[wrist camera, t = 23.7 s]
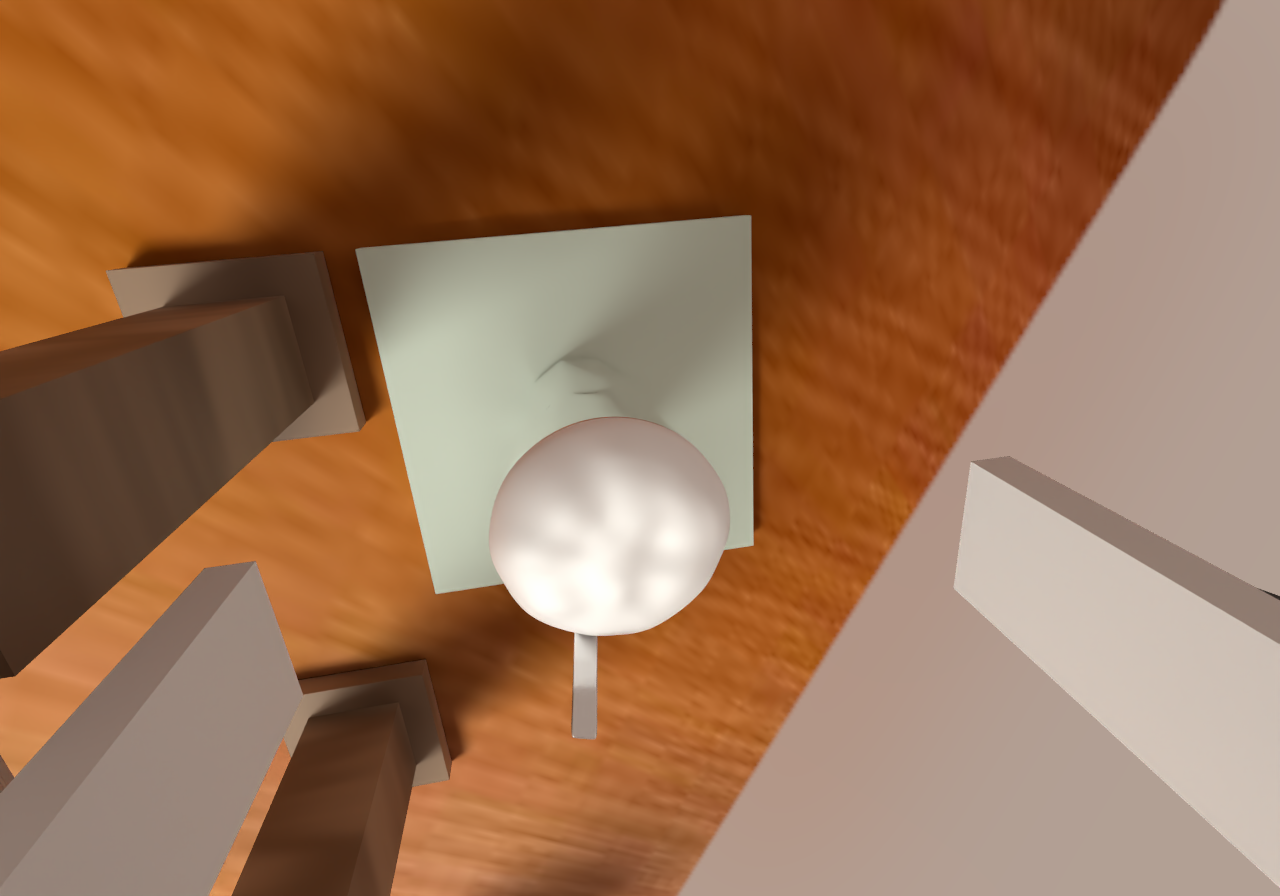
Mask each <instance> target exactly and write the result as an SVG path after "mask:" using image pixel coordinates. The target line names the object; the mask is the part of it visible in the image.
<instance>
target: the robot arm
mask: <svg viewBox="0 0 1280 896" xmlns="http://www.w3.org/2000/svg"><path fill="white" fill-rule="evenodd" d="M954 589H955V590H956V591H957V592H959V594H961V595H962V596H963V597H964V598H965V599H966V600H967V601H968V602H969V603H970V604H971V605H973V606H974V607H975V608H976V609H977V610H978V611H979V612H980V613H981V614H982V615H984V617H986V618H987V619H988V620H989V621H990V622H991V623H992V624H993V625H994V626H995V627H997V628H998V629H999V630H1000V631H1001V632H1002V633H1003V634H1004V635H1005V636H1007V638H1008V639H1010V640H1011V641H1012V642H1013V643H1014V644H1015V645H1016V646H1017V647H1018V648H1020V650H1022V651H1023V652H1024V653H1025V654H1026V655H1027V656H1028V657H1029V658H1030V659H1031V660H1032V661H1033V662H1035V663H1036V664H1037V665H1038V666H1039V667H1040V668H1041V669H1042V670H1043V671H1044V672H1045V673H1047V674H1048V675H1049V676H1050V677H1051V678H1052V679H1053V680H1054V681H1055V682H1056V683H1057V684H1058V685H1060V686H1061V687H1062V688H1063V689H1064V690H1065V691H1066V692H1067V693H1068V694H1069V695H1070V696H1072V697H1073V698H1074V699H1075V700H1076V701H1077V702H1078V703H1080V705H1081V706H1082V707H1084V708H1085V709H1086V710H1087V711H1088V712H1089V713H1090V714H1091V715H1092V716H1093V717H1094V718H1096V719H1097V720H1098V721H1099V722H1100V723H1101V724H1102V725H1103V726H1104V727H1105V728H1106V729H1107V730H1109V731H1110V732H1111V733H1112V734H1113V735H1114V736H1115V737H1116V738H1117V739H1118V740H1119V741H1121V742H1122V743H1123V744H1124V745H1125V746H1126V747H1127V748H1128V749H1129V750H1130V751H1131V752H1132V753H1134V754H1135V755H1136V756H1137V757H1138V758H1139V759H1140V760H1141V761H1142V762H1144V763H1145V764H1146V765H1147V766H1148V767H1149V768H1150V769H1151V770H1152V771H1153V772H1154V773H1155V774H1156V775H1158V776H1159V777H1160V778H1161V779H1162V780H1163V781H1164V782H1165V783H1166V784H1167V785H1168V786H1169V787H1171V788H1172V789H1173V790H1174V791H1175V792H1176V793H1177V794H1178V795H1179V796H1180V797H1182V798H1183V799H1184V800H1185V801H1186V802H1187V803H1188V804H1189V805H1190V806H1192V808H1193V809H1194V810H1196V811H1197V812H1198V813H1199V814H1200V815H1201V816H1202V817H1203V818H1204V819H1205V820H1206V821H1208V822H1209V823H1210V824H1211V825H1212V826H1213V827H1214V828H1215V829H1216V830H1218V832H1220V833H1221V834H1222V835H1223V836H1224V837H1225V838H1226V839H1227V840H1228V841H1229V842H1230V843H1232V844H1233V845H1234V846H1235V847H1236V848H1237V849H1238V850H1239V851H1240V852H1241V853H1242V854H1244V855H1245V856H1246V857H1247V858H1248V859H1249V860H1250V861H1251V862H1252V863H1253V864H1254V865H1255V866H1257V867H1258V868H1259V869H1260V870H1261V871H1262V872H1263V873H1264V874H1265V875H1266V876H1267V877H1268V878H1270V879H1271V880H1272V881H1273V882H1274V883H1275V884H1276V885H1277V886H1278V887H1279V888H1280V596H1278V595H1275V594H1272V593H1269V592H1266V591H1264V590H1261V589H1258V588H1256V587H1254V586H1252V585H1250V584H1248V583H1246V582H1244V581H1242V580H1241V579H1239V578H1237V577H1235V576H1233V575H1231V574H1229V573H1228V572H1226V571H1224V570H1222V569H1220V568H1218V567H1216V566H1214V565H1212V564H1211V563H1208V562H1207V561H1205V560H1203V559H1201V558H1199V557H1197V556H1195V555H1194V554H1192V553H1190V552H1188V551H1186V550H1184V549H1182V548H1181V547H1179V546H1177V545H1175V544H1173V543H1171V542H1169V541H1167V540H1166V539H1164V538H1162V537H1160V536H1158V535H1156V534H1154V533H1152V532H1150V531H1149V530H1147V529H1145V528H1143V527H1141V526H1139V525H1137V524H1135V523H1134V522H1131V521H1130V520H1128V519H1126V518H1124V517H1122V516H1121V515H1119V514H1117V513H1115V512H1113V511H1111V510H1109V509H1107V508H1105V507H1104V506H1102V505H1100V504H1098V503H1096V502H1094V501H1092V500H1091V499H1089V498H1087V497H1085V496H1083V495H1081V494H1079V493H1077V492H1075V491H1073V490H1071V489H1070V488H1068V487H1066V486H1064V485H1062V484H1060V483H1059V482H1057V481H1055V480H1053V479H1051V478H1049V477H1047V476H1045V475H1043V474H1042V473H1040V472H1038V471H1036V470H1034V469H1032V468H1030V467H1029V466H1027V465H1025V464H1023V463H1021V462H1019V461H1017V460H1015V459H1014V458H1012V457H1010V456H1007V457H1000V458H992V459H985V460H979V461H971V464H970V472H969V479H968V487H967V493H966V501H965V508H964V515H963V523H962V530H961V538H960V545H959V553H958V560H957V567H956V574H955V582H954ZM302 697H303V693H302V690H301V687H300V685H299V682H298V679H297V676H296V673H295V671H294V668H293V665H292V662H291V659H290V657H289V654H288V651H287V648H286V645H285V642H284V640H283V637H282V634H281V631H280V628H279V626H278V623H277V620H276V617H275V614H274V612H273V609H272V606H271V603H270V600H269V598H268V595H267V592H266V589H265V586H264V584H263V581H262V578H261V575H260V572H259V570H258V567H257V564H256V561H254V562H247V563H239V564H232V565H225V566H218V567H211V568H204V569H203V571H202V572H201V573H200V574H199V575H198V576H197V577H196V578H195V579H194V580H193V582H192V583H191V584H190V585H189V586H188V587H187V588H186V589H185V590H184V591H183V593H182V594H181V595H180V596H179V597H178V598H177V599H176V600H175V601H174V603H173V604H172V605H171V606H170V607H169V608H168V609H167V610H166V611H165V612H164V614H163V615H162V616H161V617H160V618H159V619H158V620H157V621H156V622H155V623H154V625H153V626H152V627H151V628H150V629H149V630H148V631H147V632H146V633H145V634H144V636H143V637H142V638H141V639H140V640H139V641H138V642H137V643H136V644H135V646H134V647H133V648H132V649H131V650H130V651H129V652H128V653H127V654H126V655H125V657H124V658H123V659H122V660H121V661H120V662H119V663H118V664H117V665H116V666H115V668H114V669H113V670H112V671H111V672H110V673H109V674H108V675H107V676H106V677H105V679H104V680H103V681H102V682H101V683H100V684H99V685H98V686H97V687H96V688H95V690H94V691H93V692H92V693H91V694H90V695H89V696H88V697H87V698H86V700H85V701H84V702H83V703H82V704H81V705H80V706H79V707H78V708H77V709H76V711H75V712H74V713H73V714H72V715H71V716H70V717H69V718H68V719H67V720H66V722H65V723H64V724H63V725H62V726H61V727H60V728H59V729H58V730H57V731H56V733H55V734H54V735H53V736H52V737H51V738H50V739H49V740H48V741H47V743H46V744H45V745H44V746H43V747H42V748H41V749H40V750H39V751H38V752H37V754H36V755H35V756H34V757H33V758H32V759H31V760H30V761H29V762H28V763H27V765H26V766H25V767H24V768H23V769H22V770H21V771H20V772H19V773H18V774H17V776H16V777H15V778H14V779H13V780H12V781H11V782H10V783H9V784H8V785H7V787H6V788H5V789H4V790H3V791H2V792H1V793H0V896H209V893H210V891H211V889H212V887H213V885H214V883H215V881H216V879H217V877H218V874H219V872H220V870H221V868H222V866H223V864H224V862H225V860H226V857H227V855H228V853H229V851H230V849H231V847H232V845H233V843H234V841H235V838H236V836H237V834H238V832H239V830H240V828H241V826H242V824H243V821H244V819H245V817H246V815H247V813H248V811H249V809H250V807H251V805H252V802H253V800H254V798H255V796H256V794H257V792H258V790H259V788H260V786H261V783H262V781H263V779H264V777H265V775H266V773H267V771H268V769H269V766H270V764H271V762H272V760H273V758H274V756H275V754H276V752H277V750H278V747H279V745H280V743H281V741H282V739H283V737H284V735H285V733H286V730H287V728H288V726H289V724H290V722H291V720H292V718H293V716H294V714H295V711H296V709H297V707H298V705H299V703H300V701H301V699H302Z"/></svg>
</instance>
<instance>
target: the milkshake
mask: <svg viewBox="0 0 1280 896" xmlns="http://www.w3.org/2000/svg"><path fill="white" fill-rule="evenodd" d="M729 528H730V509H729V502H728V497H727V494H726V491H725V488H724V486H723V484H722V482H721V480H720V478H719V476H718V475H717V473H716V471H715V470H714V468H713V467H712V466H711V464H710V463H709V462H708V461H707V459H706V458H705V457H704V456H703V455H702V453H701V452H700V451H699V450H698V449H697V448H696V447H695V446H694V445H693V444H692V443H690V442H689V441H688V440H687V439H686V438H685V437H684V436H683V435H682V434H681V433H680V432H678V431H677V430H676V429H675V428H674V427H673V426H672V425H671V424H670V423H669V422H668V421H666V420H665V419H664V418H663V417H662V416H661V415H660V414H659V413H658V411H657V410H656V409H655V408H654V407H653V406H652V405H651V404H650V403H649V402H648V401H647V400H646V398H645V397H644V396H643V395H642V394H641V393H640V392H639V391H638V390H637V389H636V388H635V387H634V386H633V385H632V383H631V382H630V381H629V380H628V379H627V378H626V377H625V376H624V375H623V374H621V373H620V372H618V371H616V370H615V369H613V368H611V367H610V366H608V365H606V364H605V363H603V362H601V361H600V360H598V359H596V358H595V357H590V358H579V359H566V360H559V361H558V362H557V363H556V364H555V365H554V366H552V367H551V368H550V369H549V370H548V371H547V372H545V373H544V374H543V375H542V376H541V377H539V378H538V379H537V380H536V381H535V382H534V384H533V388H532V391H531V395H530V399H529V403H528V407H527V411H526V415H525V418H524V422H523V426H522V429H521V432H520V435H519V438H518V441H517V443H516V446H515V448H514V451H513V454H512V456H511V459H510V462H509V464H508V467H507V470H506V473H505V475H504V478H503V481H502V484H501V486H500V489H499V491H498V494H497V497H496V499H495V503H494V507H493V511H492V515H491V520H490V529H489V549H490V554H491V558H492V561H493V564H494V566H495V568H496V570H497V572H498V574H499V576H500V578H501V579H502V581H503V583H504V584H505V586H506V588H507V589H508V591H509V593H510V594H511V596H512V597H513V598H514V600H515V601H516V602H517V603H518V604H519V606H520V607H521V608H522V609H523V610H524V611H526V612H527V613H528V614H529V615H531V616H532V617H534V618H535V619H537V620H539V621H541V622H543V623H545V624H548V625H550V626H553V627H556V628H559V629H562V630H566V631H570V632H574V658H573V690H572V723H571V733H572V737H573V738H580V739H595V738H596V736H597V636H611V635H623V634H631V633H637V632H641V631H645V630H648V629H650V628H653V627H655V626H657V625H659V624H660V623H662V622H664V621H665V620H667V619H669V618H670V617H672V616H673V615H675V614H676V613H678V612H679V611H680V610H682V609H683V608H684V607H685V606H687V605H688V604H689V603H690V602H691V601H692V600H693V599H694V598H695V597H696V596H697V595H698V594H699V593H700V592H701V591H702V590H703V589H704V587H705V586H706V585H707V583H708V582H709V580H710V579H711V577H712V575H713V573H714V571H715V569H716V567H717V564H718V562H719V560H720V558H721V555H722V553H723V550H724V548H725V545H726V542H727V539H728V534H729Z"/></svg>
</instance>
